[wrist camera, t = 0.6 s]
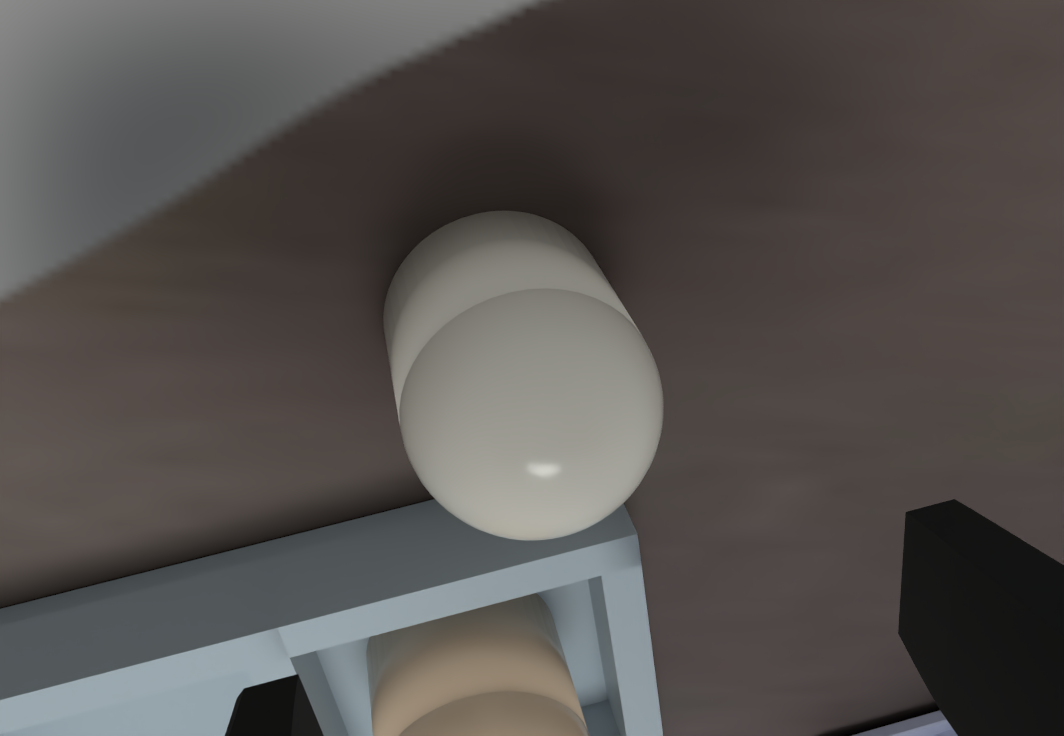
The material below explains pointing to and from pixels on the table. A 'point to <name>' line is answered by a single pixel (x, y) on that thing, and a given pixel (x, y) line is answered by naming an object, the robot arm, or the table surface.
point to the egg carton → (319, 626)
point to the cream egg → (519, 377)
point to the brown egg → (474, 675)
